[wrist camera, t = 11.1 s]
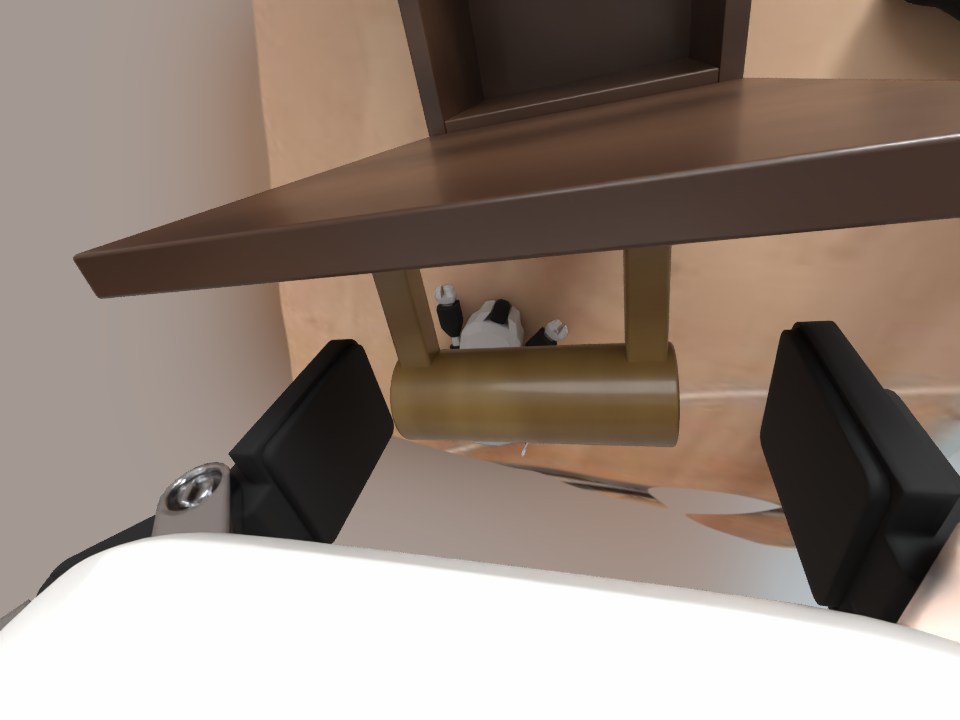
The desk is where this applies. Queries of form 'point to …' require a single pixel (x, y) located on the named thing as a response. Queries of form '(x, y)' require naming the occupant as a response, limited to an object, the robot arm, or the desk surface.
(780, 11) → the desk surface
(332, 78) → the desk surface
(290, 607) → the robot arm
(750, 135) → the lid
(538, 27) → the brown hollow rectangular box
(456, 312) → the robot toy
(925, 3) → the electric trimmer
